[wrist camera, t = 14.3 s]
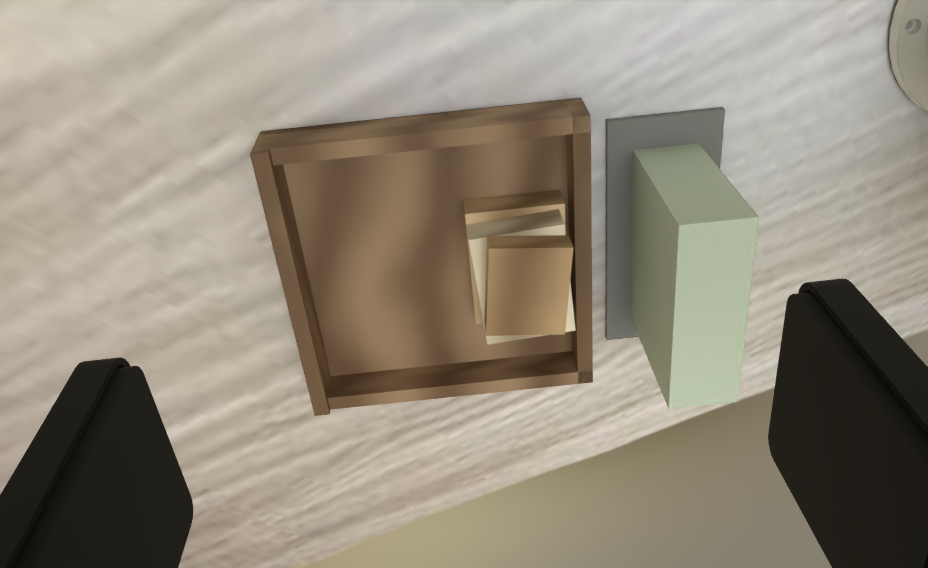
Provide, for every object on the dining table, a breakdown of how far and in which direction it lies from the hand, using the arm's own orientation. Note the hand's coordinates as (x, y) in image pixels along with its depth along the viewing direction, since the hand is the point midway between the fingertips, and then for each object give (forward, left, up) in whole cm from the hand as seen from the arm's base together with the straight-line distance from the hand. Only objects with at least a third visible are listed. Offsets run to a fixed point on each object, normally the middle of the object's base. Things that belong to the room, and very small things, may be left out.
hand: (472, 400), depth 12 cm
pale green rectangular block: (-13, +18, -36) cm, 42 cm away
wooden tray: (+2, +18, -36) cm, 41 cm away
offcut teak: (-4, +18, -32) cm, 37 cm away
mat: (-13, +18, -36) cm, 43 cm away
